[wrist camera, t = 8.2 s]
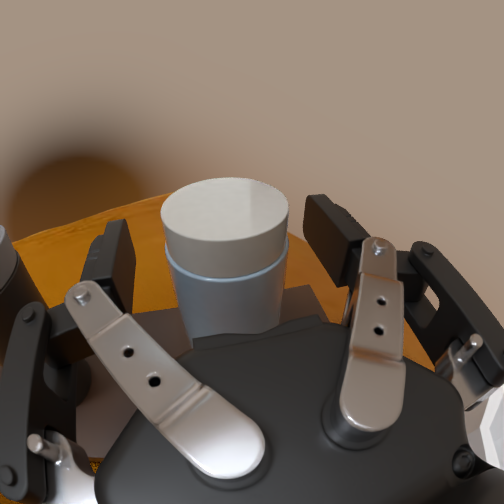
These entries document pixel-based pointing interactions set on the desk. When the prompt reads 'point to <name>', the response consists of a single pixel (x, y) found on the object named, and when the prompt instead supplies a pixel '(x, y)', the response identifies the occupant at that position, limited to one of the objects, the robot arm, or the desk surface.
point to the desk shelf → (174, 343)
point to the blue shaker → (227, 255)
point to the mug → (488, 429)
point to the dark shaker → (17, 296)
